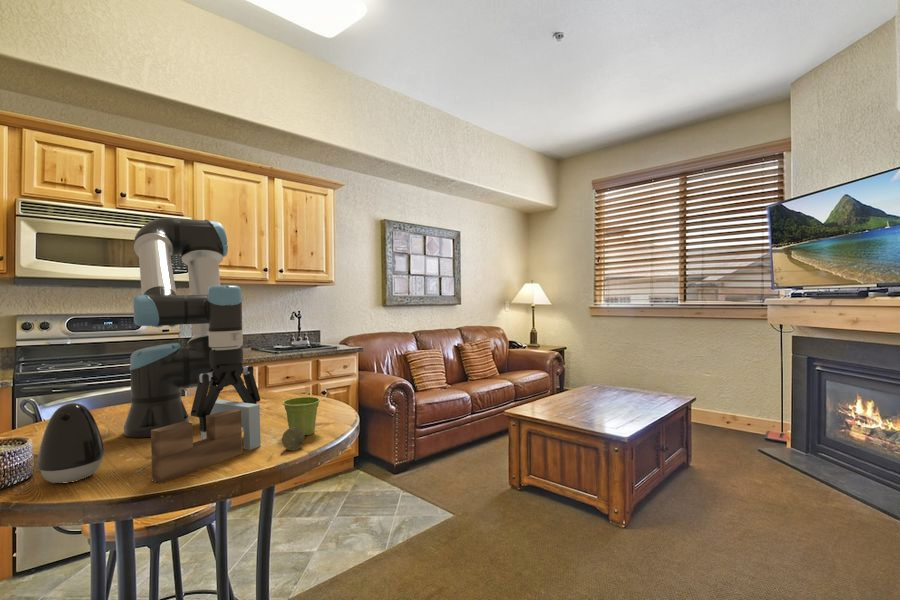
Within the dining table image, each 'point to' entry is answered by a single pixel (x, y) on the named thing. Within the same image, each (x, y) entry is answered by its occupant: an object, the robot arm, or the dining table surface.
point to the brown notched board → (195, 445)
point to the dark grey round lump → (293, 439)
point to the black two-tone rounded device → (70, 445)
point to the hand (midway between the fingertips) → (228, 437)
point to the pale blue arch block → (243, 420)
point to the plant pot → (302, 413)
